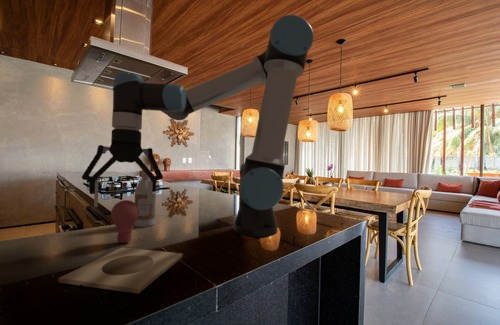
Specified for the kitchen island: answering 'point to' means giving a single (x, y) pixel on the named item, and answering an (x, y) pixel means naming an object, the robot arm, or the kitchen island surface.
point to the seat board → (123, 270)
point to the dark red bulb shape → (124, 219)
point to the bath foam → (144, 203)
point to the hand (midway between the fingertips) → (124, 204)
